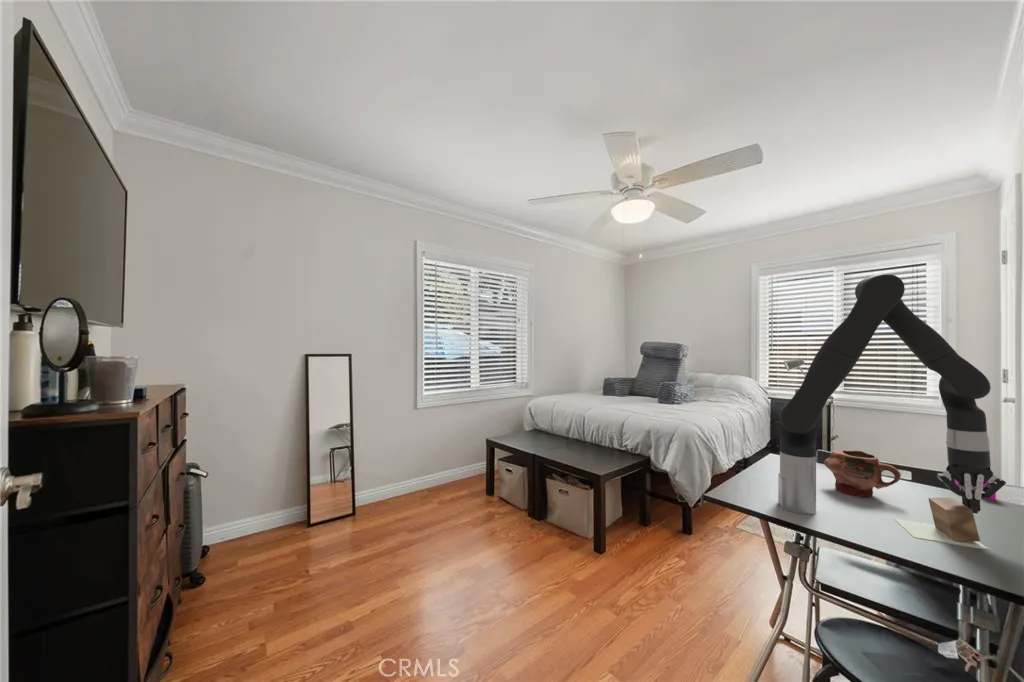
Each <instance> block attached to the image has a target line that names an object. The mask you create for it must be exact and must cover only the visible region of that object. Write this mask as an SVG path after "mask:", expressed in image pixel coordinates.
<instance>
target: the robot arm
mask: <svg viewBox="0 0 1024 682" xmlns="http://www.w3.org/2000/svg"><path fill="white" fill-rule="evenodd" d="M904 294H905V283H904V281H903V280H902V279H901V278H900V277H898V276H897V275H895V274H890V273H881V274H880V273H879V274H875V275H872V276H868V277H865V278H863V279H862V280H860V281H859V282H858V283H857V284H856V286H855V289H854V295H855V297H856V301H855V303H854V304H853V307H852V309H851V310H850V313H848V316H846V318H844V320H843V321H842V322H841V323H840V324H839V325H838V326H837V327H836V328H835V329H834V330H833V331H832V332H831V334H830V335H829V336H828V337H827V338H826V339H825V340H824V342H823V343H822V345H820V348H819V349H818V351H817V353H816V354H815V355H814V358H813V360H812V362H811V363H810V366H809V368H808V370H807V372H806V375H805V377H804V379H803V381H802V384H801V385H800V386H799V388H798V390H797V392H795V394H794V395H793V396H792V398H790V400H789V401H788V402H787V403H785V404H784V405H783V406H782V407H781V409H780V411H779V421H780V439H779V473H778V480H777V482H778V487H777V492H778V493H777V494H778V496H777V498H778V499H777V500H778V501H777V503H778V502H779V503H778V504H780V505H779V507H780V506H781V507H780V509H781V508H782V510H784V509H786V510H785V511H788V510H789V511H788V512H791V513H795V514H799V515H815V514H817V513H816V512H817V421H818V419H819V417H820V416H821V413H822V411H823V409H824V407H825V405H826V404H827V401H828V400H829V399H830V397H831V396H832V395H833V394H834V393H835V391H836V390H837V389H838V388H839V387H840V385H842V383H843V382H844V381H845V379H846V378H847V377H848V375H849V374H850V372H851V371H853V368H854V367H855V366H856V364H857V362H858V361H859V360H860V357H861V356H862V354H863V353H864V352H865V350H866V348H867V346H868V345H869V343H870V341H871V339H872V338H873V336H874V334H875V332H876V331H877V330H878V327H879V326H880V324H881V323H882V322H884V323H886V325H888V327H889V328H890V329H892V331H893V332H894V333H895V334H896V335H897V337H899V339H901V341H902V342H903V343H904V344H905V345H906V346H907V348H908V349H909V350H910V351H911V352H912V353H913V354H914V356H916V358H917V359H918V360H919V361H920V362H921V363H922V365H924V366H925V367H926V368H927V369H929V370H931V371H933V372H935V373H937V374H938V375H940V376H941V377H940V379H939V381H938V391H939V395H940V398H941V401H942V405H943V407H944V409H945V412H946V427H947V428H946V435H945V436H946V438H945V440H946V441H945V444H946V451H947V453H946V454H947V455H946V456H947V463H948V464H947V466H946V469H945V471H943V472H940V473H939V472H938V473H936V474H935V477H936V478H937V479H938V480H939V481H940V482H942V483H943V485H945V487H947V488H948V490H949V491H951V492H952V493H954V494H955V495H957V496H959V497H961V503H962V504H964V505H965V506H967V507H969V508H970V509H972V511H973V514H978V513H980V512H981V510H982V509H981V499H986V498H990V497H991V496H992V495H994V494H995V493H996V494H997V492H999V490H1001V489H1002V487H1004V486H1005V485H1006V481H1005V480H1003V479H1001V478H999V477H997V476H996V475H994V472H993V470H992V469H991V452H990V450H991V449H990V439H989V435H988V429H987V427H988V425H987V416H986V412H985V411H984V410H983V409H981V408H980V407H979V406H978V405H977V403H976V400H979V399H982V398H985V397H987V395H989V393H990V392H991V389H992V388H991V387H992V386H991V383H990V381H989V379H988V377H987V376H986V375H985V374H984V373H983V372H981V370H979V369H978V368H977V367H976V366H975V365H973V364H971V363H970V362H969V361H968V360H967V359H965V358H963V356H960V354H958V353H957V351H956V350H955V349H954V348H953V347H952V346H951V345H950V344H949V342H947V340H946V339H945V338H944V337H943V336H942V335H941V334H940V333H939V332H937V331H936V330H935V329H934V328H933V327H932V326H930V325H929V324H927V323H926V322H924V321H923V320H922V319H921V318H920V317H918V316H917V315H916V314H915V313H914V312H913V311H912V310H911V309H910V308H909V307H908V306H907V305H906V304H905V302H904V301H903V300H902V298H903V297H904ZM952 478H953V479H954V481H955V480H956V481H957V482H958V485H956V484H955V483H954V482H952ZM987 481H988V482H989V483H987V484H986V485H985V486H984V487H983V485H984V484H985V483H986V482H987Z"/></svg>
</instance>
